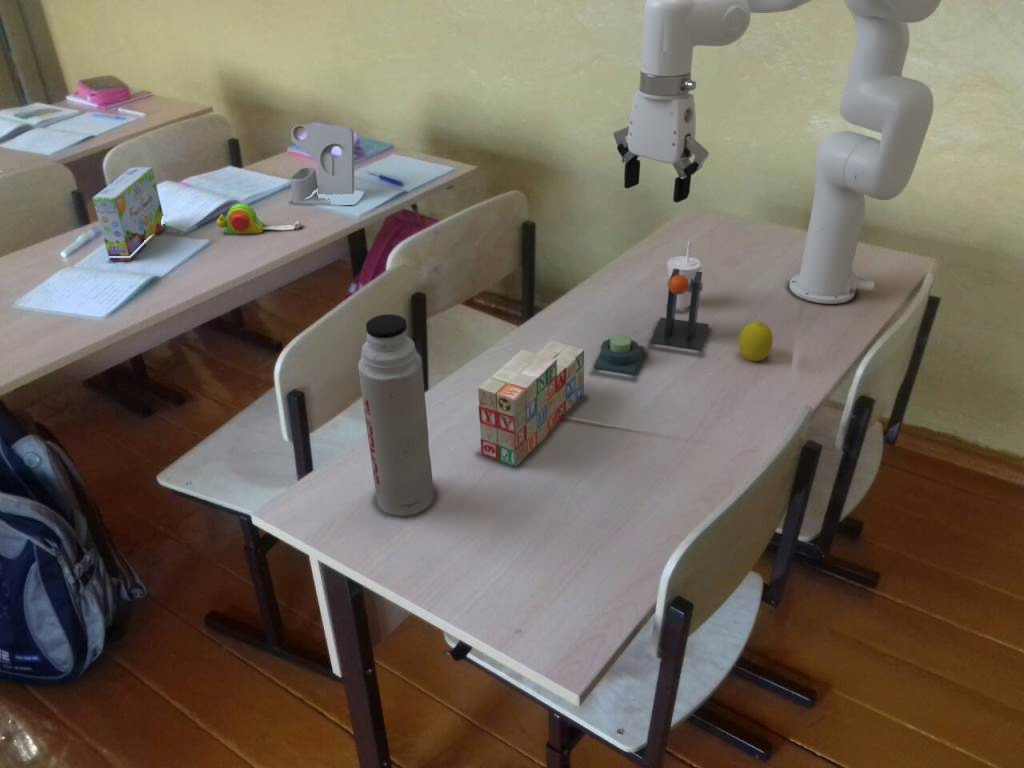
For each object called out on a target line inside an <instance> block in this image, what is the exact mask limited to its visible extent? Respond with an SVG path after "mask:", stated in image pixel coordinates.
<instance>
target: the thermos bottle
mask: <svg viewBox="0 0 1024 768" xmlns="http://www.w3.org/2000/svg"><path fill="white" fill-rule="evenodd" d="M365 330H366V341H365V342H364V343H363V344H362V346H361V353H360V359H359V361H358V364H357V368H358V375H359V382H360V389H361V396H362V403H363V412H364V417H365V426H366V434H367V441H368V446H369V453H370V454H369V455H370V461H371V468H372V476H373V482H374V489H375V496H376V503H377V505H378V507H379V508H380V509H381V510H382V511H383V512H385V513H387V514H389V515H391V516H397V517H406V516H407V517H408V516H413V515H416V514H419V513H421V512H422V511H425V509H427V508H428V507H429V506H430V505H431V503H433V500H434V496H435V492H434V480H433V471H432V460H431V453H430V445H429V427H428V426H429V425H428V416H427V415H428V414H427V404H426V394H425V393H426V392H425V383H424V372H423V361H422V357H421V355H420V354H419V353H418V352H417V348H416V346H415V342H414V341H413V339H412V338H410V337H409V336H407V335H408V333H407V321H406V319H405V318H404V317H402V316H400V315H397V314H390V313H388V314H387V313H385V314H380V315H377V316H373V317H372V318H370V319H369V320H368V321H367V322H366V324H365Z"/></svg>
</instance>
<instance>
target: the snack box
mask: <svg viewBox="0 0 1024 768" xmlns="http://www.w3.org/2000/svg"><path fill="white" fill-rule="evenodd" d="M91 199H92V203H93V205H94V209H95V213H96V217H97V220H98V223H99V224H98V225H99V227H100V230H101V234H102V238H103V241H104V245H105V248H106V252H107V255H108V259H109V261H110V262H111V261H113V262H115V261H116V262H132V261H133V260H134V258H136V256H137V255H139V253H140V252H142V250H144V248H146V247H147V246H148V245H149V244H150V243H151V242H152V241H153V240H154V239H155V238H156V237H157V236H158V234H160V233H161V232H162V231H163V230H164V229H165V228H166V227H167V224H166V223H165V224H163V225H162V226H161V219H162V216H164V211H163V208H162V204H161V200H160V195H159V191H158V187H157V182H156V179H155V174H154V169H153V167H152V166H151V167H150V166H149V167H143V166H141V167H139V166H137V167H130V168H128V169H127V170H126V171H125V172H124V173H122V174H121V175H120V176H118V177H117V178H116V179H114V180H113V181H111V183H109V184H108V185H107V186H106V187H104V188H103V189H101V191H99V192H98V193H97V194H95V195H94V196H93V197H92V198H91ZM153 234H154V235H153ZM151 235H153V236H152V237H151V238H150V239H149V240H148V241H147V242H146V243H145V244H144V245H143V246H142V247H141V248H140V249H139V250H138V251H137V252H136V253H135V254H134V255H133V256H132V257H131V258H109V256H130V255H131V254H132V253H133V252H134V251H135V250H136V249H137V248H138V247H139V246H140V245H141V244H142V243H143V242H144V240H146V239H147V238H148V237H149V236H151Z"/></svg>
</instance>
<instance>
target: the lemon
mask: <svg viewBox="0 0 1024 768" xmlns="http://www.w3.org/2000/svg"><path fill="white" fill-rule="evenodd" d="M773 339H774V338H773V332H772V330H771V328H770V327H769V326H768V325H767V324H765V323H764V322H761V321H760V320H759V321H754V322H750V323H749V324H747V325H745V327H744V328H743V329H742V331H741V333H740V336H739V339H738V349H739V352H740V354H741V355H742V356H743V358H745V359H746V360H747V361H751V362H760V361H762V360H764V359H766V358H767V357H768V356H769V354H770V353H771V351H772V347H773V342H774V340H773Z"/></svg>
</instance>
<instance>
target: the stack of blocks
mask: <svg viewBox="0 0 1024 768" xmlns="http://www.w3.org/2000/svg"><path fill="white" fill-rule="evenodd" d="M584 365H585V349H583V348H579V347H576V346H572V345H569V344H568V345H567V344H565V343H562V342H558V341H554V340H550V341H549V342H547V344H545V345H544V346H543V347H542V348H541V349H539V350H538V351H537V352H532V351H529V350H525V349H521V350H520V351H519V352H518V353H516V354H515V355H514V356H513V357H512V358H511V359H510V360H509V361H508V362H507V363H506V364H504V365H503V366H502V367H501V368H499V369H498V370H496V372H495V373H494V374H492V375H491V376H490V377H488V378H487V379H486V380H485V381H484V382H483V383H481V384H480V385H479V386H478V388H477V392H478V418H479V419H478V420H479V429H480V431H479V432H480V453H481V455H482V456H485V457H488V458H491V459H493V460H496V461H499V462H501V463H504V464H506V465H509V466H512V467H515V468H516V467H517V466H519V464H520V463H521V462H522V461H523V460H524V459H525V458H526V457H528V456H529V455H530V454H531V453H532V452H533V451H534V449H536V448H537V447H538V445H540V444H541V443H542V441H543V440H544V439H545V438H546V437H547V436H548V434H550V432H551V431H552V430H553V429H554V428H555V427H556V425H557V424H558V423H560V422H561V420H562V419H563V418H564V417H565V416H566V414H564V413H565V412H567V411H568V410H569V409H570V408H571V407H572V406H573V405H574V404H576V402H577V400H578V399H579V398H581V396H582V395H583V394H584V391H585V390H584V389H585V387H584V386H585V382H584V381H585V366H584Z"/></svg>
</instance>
